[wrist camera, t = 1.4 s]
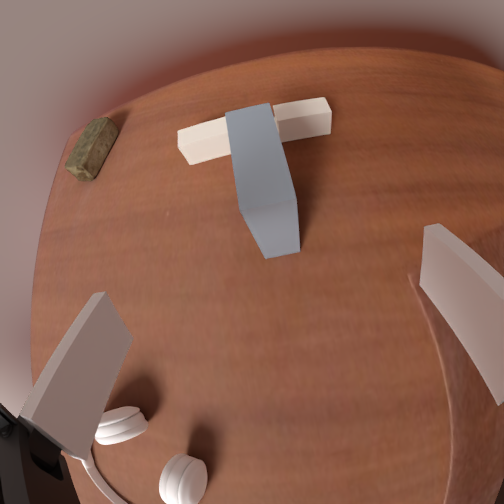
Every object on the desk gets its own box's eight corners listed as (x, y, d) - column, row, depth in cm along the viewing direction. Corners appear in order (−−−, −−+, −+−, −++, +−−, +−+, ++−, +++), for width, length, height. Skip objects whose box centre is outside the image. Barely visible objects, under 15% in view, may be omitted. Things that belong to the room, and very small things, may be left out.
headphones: (84, 390, 23) (60, 465, 23) (216, 506, 18) (151, 548, 18) (123, 378, 30) (89, 451, 30) (239, 471, 24) (174, 524, 25)
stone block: (123, 130, 43) (109, 113, 39) (96, 184, 41) (78, 170, 36) (102, 131, 45) (89, 117, 40) (77, 182, 42) (60, 170, 37)
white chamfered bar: (323, 119, 36) (324, 97, 31) (330, 133, 35) (331, 111, 30) (189, 149, 38) (177, 130, 34) (190, 165, 37) (177, 146, 33)
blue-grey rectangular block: (251, 183, 35) (224, 112, 22) (282, 176, 34) (269, 102, 22) (265, 258, 31) (239, 210, 19) (300, 251, 31) (296, 198, 19)
